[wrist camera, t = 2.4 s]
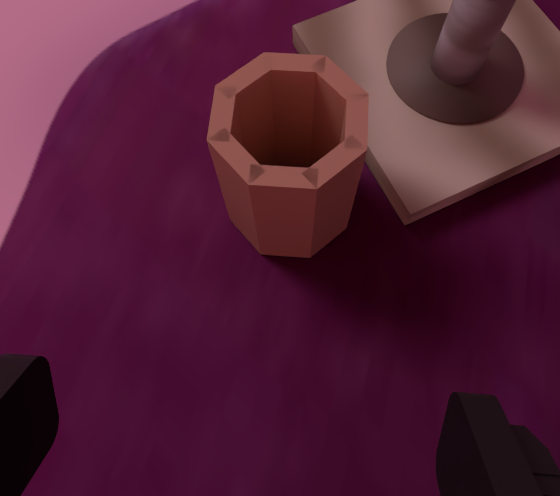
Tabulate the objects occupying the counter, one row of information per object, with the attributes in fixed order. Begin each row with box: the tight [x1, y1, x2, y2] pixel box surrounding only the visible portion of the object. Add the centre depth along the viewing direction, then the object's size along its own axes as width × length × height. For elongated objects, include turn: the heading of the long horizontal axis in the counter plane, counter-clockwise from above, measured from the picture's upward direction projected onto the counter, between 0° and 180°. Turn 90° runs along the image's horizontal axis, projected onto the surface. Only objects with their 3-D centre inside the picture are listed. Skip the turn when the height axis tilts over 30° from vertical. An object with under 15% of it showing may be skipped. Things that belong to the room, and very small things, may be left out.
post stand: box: [293, 0, 560, 226], centre depth 26 cm, size 14×14×9 cm
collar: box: [207, 52, 369, 258], centre depth 24 cm, size 6×6×8 cm
